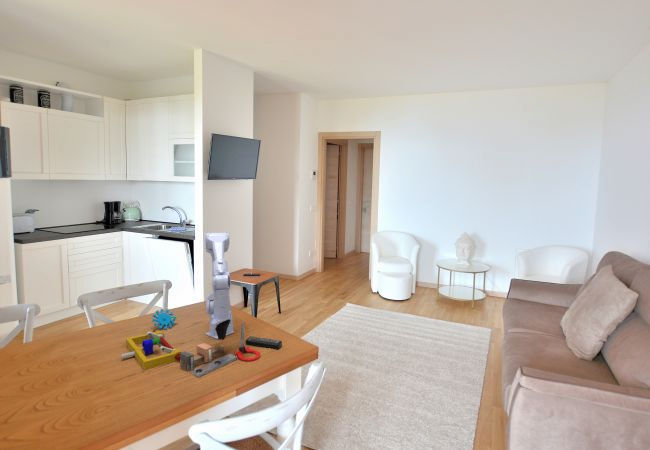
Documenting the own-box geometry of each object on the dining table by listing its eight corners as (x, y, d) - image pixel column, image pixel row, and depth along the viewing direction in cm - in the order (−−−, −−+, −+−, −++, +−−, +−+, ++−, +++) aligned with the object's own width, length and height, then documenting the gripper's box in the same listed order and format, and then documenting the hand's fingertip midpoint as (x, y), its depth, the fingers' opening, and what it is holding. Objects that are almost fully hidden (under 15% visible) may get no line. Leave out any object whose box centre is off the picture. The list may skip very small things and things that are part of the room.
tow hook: (264, 357, 152) (249, 349, 158) (265, 325, 150) (250, 318, 156) (247, 365, 145) (231, 356, 151) (248, 332, 143) (232, 324, 149)
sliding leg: (203, 356, 150) (203, 342, 149) (213, 361, 147) (213, 347, 146) (196, 359, 148) (196, 345, 147) (207, 364, 144) (206, 350, 143)
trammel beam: (217, 350, 155) (217, 338, 154) (227, 355, 152) (227, 342, 151) (179, 367, 141) (179, 353, 141) (189, 372, 138) (188, 358, 137)
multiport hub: (278, 350, 158) (278, 345, 157) (245, 345, 161) (245, 340, 161) (282, 346, 162) (282, 340, 162) (249, 341, 166) (249, 336, 165)
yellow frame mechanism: (158, 320, 169) (184, 345, 146) (158, 334, 170) (184, 361, 147) (110, 330, 157) (131, 359, 135) (111, 345, 158) (131, 376, 135)
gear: (154, 329, 170) (151, 308, 175) (150, 335, 173) (147, 315, 178) (180, 326, 177) (176, 307, 182) (175, 333, 181) (171, 313, 186)
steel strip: (230, 356, 151) (230, 353, 151) (237, 359, 149) (237, 356, 148) (191, 373, 137) (191, 370, 137) (198, 377, 135) (198, 374, 135)
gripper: (220, 298, 159) (220, 330, 161) (202, 310, 145) (202, 345, 147) (236, 299, 158) (236, 332, 160) (220, 312, 144) (220, 347, 145)
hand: (221, 339), depth 153 cm, fingers closed
